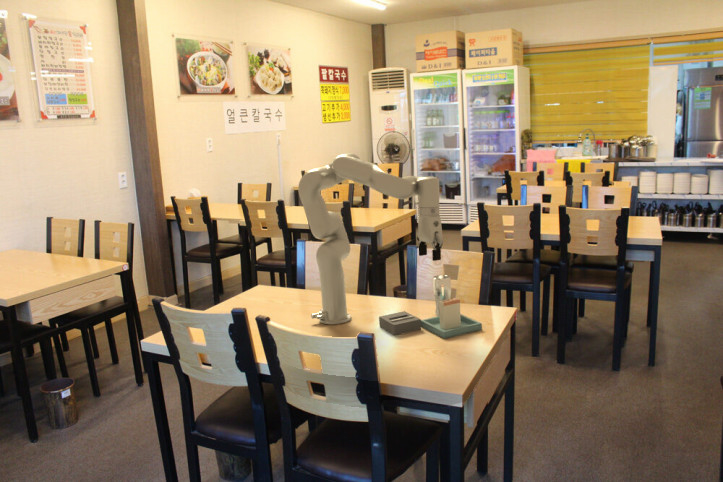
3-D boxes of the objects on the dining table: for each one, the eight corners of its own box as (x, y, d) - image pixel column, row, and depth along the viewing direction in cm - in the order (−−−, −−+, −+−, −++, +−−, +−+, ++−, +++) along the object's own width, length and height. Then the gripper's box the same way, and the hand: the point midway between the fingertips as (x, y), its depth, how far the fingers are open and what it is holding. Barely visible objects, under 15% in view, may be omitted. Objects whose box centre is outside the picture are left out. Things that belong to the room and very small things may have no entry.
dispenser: (394, 335, 218) (394, 323, 217) (379, 326, 229) (378, 315, 228) (421, 329, 222) (420, 317, 221) (405, 321, 233) (404, 309, 232)
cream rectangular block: (444, 329, 219) (443, 302, 217) (440, 327, 222) (438, 300, 220) (460, 325, 222) (459, 299, 220) (456, 323, 224) (455, 297, 223)
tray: (444, 338, 211) (443, 332, 211) (420, 326, 226) (420, 320, 225) (481, 329, 218) (481, 323, 217) (456, 318, 232) (456, 312, 232)
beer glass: (451, 316, 235) (450, 279, 232) (433, 316, 236) (431, 279, 233) (452, 311, 241) (451, 274, 239) (434, 311, 243) (433, 274, 240)
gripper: (450, 213, 212) (451, 260, 216) (425, 207, 228) (426, 252, 231) (432, 215, 209) (433, 263, 213) (408, 209, 225) (409, 254, 228)
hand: (429, 257), depth 222 cm, fingers open, 9 cm apart
